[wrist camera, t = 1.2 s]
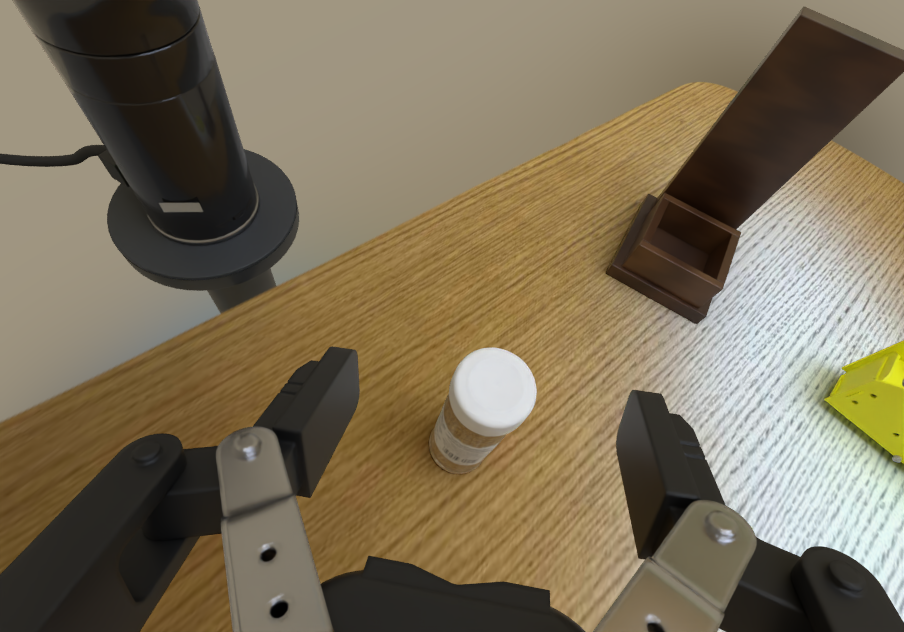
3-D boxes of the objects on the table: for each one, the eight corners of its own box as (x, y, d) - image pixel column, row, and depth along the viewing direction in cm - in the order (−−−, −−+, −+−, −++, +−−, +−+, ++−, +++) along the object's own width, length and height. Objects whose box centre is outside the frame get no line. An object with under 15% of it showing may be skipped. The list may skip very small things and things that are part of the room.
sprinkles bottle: (496, 439, 36) (554, 378, 25) (463, 488, 34) (510, 446, 22) (450, 404, 37) (484, 329, 25) (415, 450, 35) (436, 390, 23)
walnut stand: (605, 273, 46) (761, 73, 28) (641, 202, 52) (791, -2, 33) (696, 324, 45) (925, 149, 26) (723, 245, 51) (927, 57, 32)
